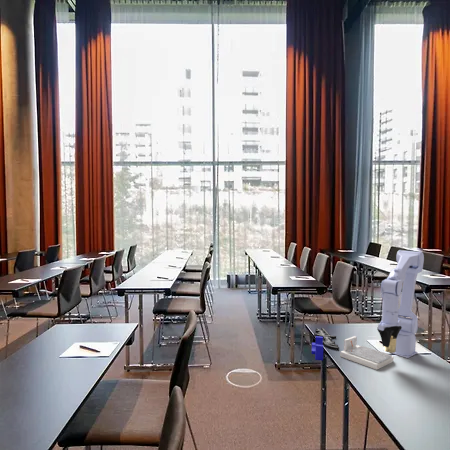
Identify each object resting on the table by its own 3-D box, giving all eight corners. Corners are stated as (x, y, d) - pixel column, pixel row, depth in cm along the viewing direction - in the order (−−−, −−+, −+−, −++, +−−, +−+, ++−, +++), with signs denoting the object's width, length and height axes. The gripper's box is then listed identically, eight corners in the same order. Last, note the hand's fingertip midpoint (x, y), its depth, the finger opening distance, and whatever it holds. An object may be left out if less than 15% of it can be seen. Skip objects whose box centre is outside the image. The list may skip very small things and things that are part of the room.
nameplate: (347, 347, 163) (325, 347, 162) (347, 351, 163) (324, 351, 162) (327, 327, 190) (308, 327, 190) (327, 330, 190) (308, 330, 190)
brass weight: (386, 347, 149) (387, 332, 149) (397, 351, 146) (398, 335, 146) (381, 350, 146) (382, 334, 146) (392, 353, 143) (393, 338, 143)
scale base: (357, 349, 164) (357, 334, 163) (393, 361, 151) (394, 345, 151) (340, 356, 155) (340, 340, 155) (376, 369, 143) (377, 352, 143)
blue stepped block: (311, 349, 163) (312, 335, 163) (322, 350, 162) (322, 336, 162) (311, 359, 152) (311, 345, 152) (322, 361, 151) (323, 346, 151)
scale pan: (362, 347, 160) (362, 345, 160) (391, 357, 150) (391, 355, 150) (348, 352, 154) (348, 350, 154) (378, 363, 144) (379, 361, 144)
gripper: (391, 316, 138) (389, 352, 139) (409, 309, 147) (407, 344, 148) (373, 311, 143) (371, 346, 144) (391, 306, 153) (390, 339, 153)
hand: (388, 345), depth 146 cm, fingers closed on brass weight, 4 cm apart
